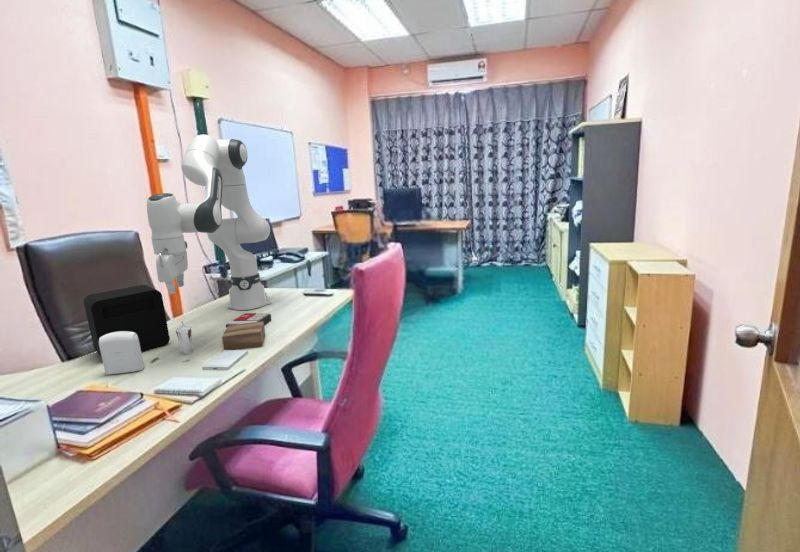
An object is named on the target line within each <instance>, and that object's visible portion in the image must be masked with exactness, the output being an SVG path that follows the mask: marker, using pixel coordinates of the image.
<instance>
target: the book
mask: <svg viewBox="0 0 800 552" xmlns="http://www.w3.org/2000/svg"><path fill="white" fill-rule="evenodd" d="M260 321H264V327H265V326H267V324H269V323H271V321H272V314H270V313H269V312H257V313H256V312H253V313H252V312H249V313H248V312H245V313H243V314H241V315H240V316H238V317H236V318H234V319H233V320H232V321H230V322H227V324H226V325H225V329H226V328H227V326H228V325H235V324H243V323H252V322H260Z"/></svg>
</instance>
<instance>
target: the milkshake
mask: <svg viewBox="0 0 800 552" xmlns="http://www.w3.org/2000/svg"><path fill="white" fill-rule="evenodd" d="M175 333H176V336H177V340H178V342H179V346H180V350H181V354H182V355H188V354H191V353H193V352H194V348H193V337H192V336H193V334H192V326H191V325H190V324H186V325H184V321H183V320H181V325H180V326H177V328H176V329H175Z"/></svg>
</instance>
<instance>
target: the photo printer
mask: <svg viewBox="0 0 800 552" xmlns="http://www.w3.org/2000/svg"><path fill="white" fill-rule="evenodd" d="M99 347H100V352H101V356H102V357H101V356H100V357H101V361H102V363H103V370H104V372H105V375H107V376H108V375H110V376H111V375H118V374H126V373H131V372H132V373H133V372H139V371H142V370H143V369H145V362H144V359H143V352H141V348H140V344H139V339H138V335H137V334H136V333H135V332H129V331H118V332H112V333H109V334H106V335H103V336H101V337H100V338H99Z"/></svg>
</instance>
